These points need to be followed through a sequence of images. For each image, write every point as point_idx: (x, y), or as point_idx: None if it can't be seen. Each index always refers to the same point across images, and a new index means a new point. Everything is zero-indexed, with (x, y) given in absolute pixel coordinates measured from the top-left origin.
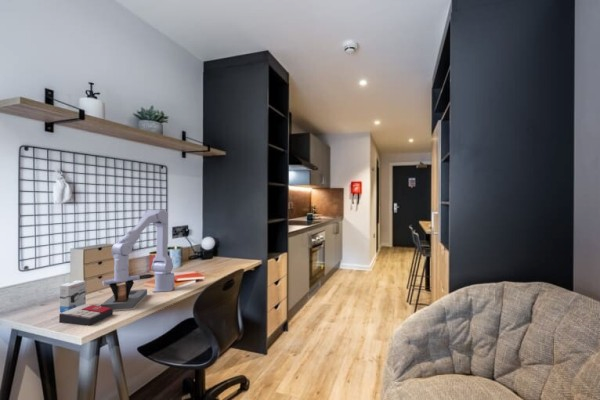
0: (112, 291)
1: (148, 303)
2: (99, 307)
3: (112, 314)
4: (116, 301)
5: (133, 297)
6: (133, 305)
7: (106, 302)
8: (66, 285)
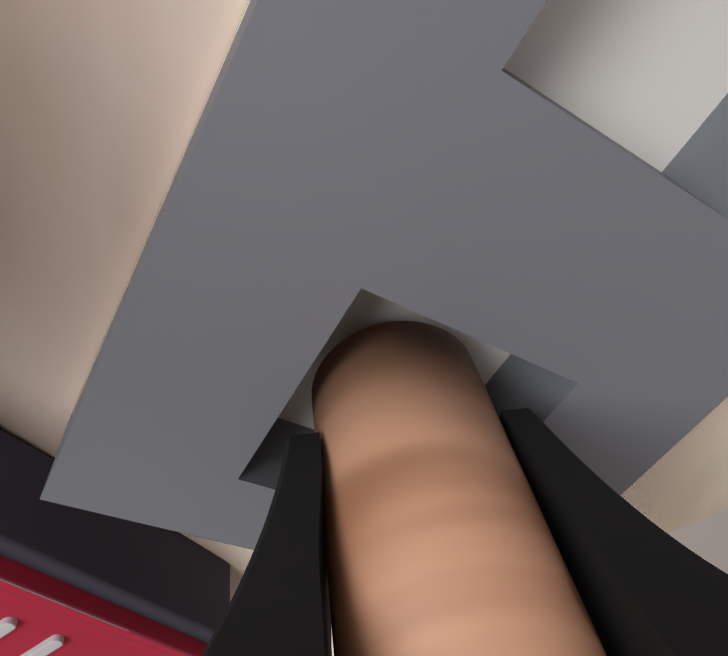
0: (240, 586)
1: (705, 422)
2: (42, 647)
3: (229, 579)
4: (314, 429)
5: (614, 406)
6: None
7: (133, 429)
8: None
